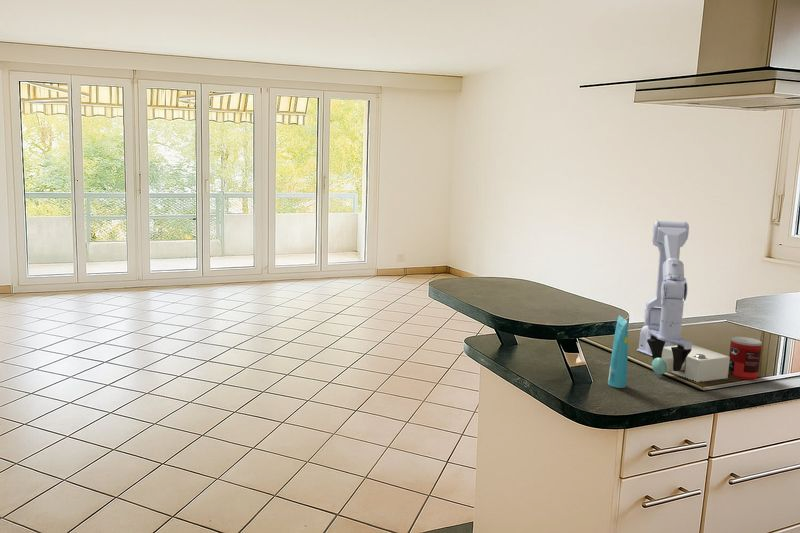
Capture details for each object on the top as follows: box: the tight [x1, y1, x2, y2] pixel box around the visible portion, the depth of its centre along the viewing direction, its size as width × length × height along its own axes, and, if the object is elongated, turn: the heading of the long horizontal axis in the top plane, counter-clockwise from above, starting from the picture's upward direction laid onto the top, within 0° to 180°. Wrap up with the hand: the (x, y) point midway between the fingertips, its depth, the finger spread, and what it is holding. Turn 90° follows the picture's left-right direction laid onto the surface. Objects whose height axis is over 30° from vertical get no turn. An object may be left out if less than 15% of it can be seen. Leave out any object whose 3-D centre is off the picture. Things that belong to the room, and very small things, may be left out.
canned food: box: [728, 336, 763, 381], centre depth 182 cm, size 8×8×11 cm
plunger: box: [696, 354, 705, 359], centre depth 178 cm, size 2×2×4 cm
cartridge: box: [651, 358, 686, 376], centre depth 182 cm, size 5×17×5 cm, turn 112°
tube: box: [607, 314, 629, 389], centre depth 170 cm, size 7×5×19 cm, turn 3°
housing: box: [662, 343, 730, 383], centre depth 184 cm, size 14×12×6 cm
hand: (666, 366), depth 180 cm, fingers open, 7 cm apart
